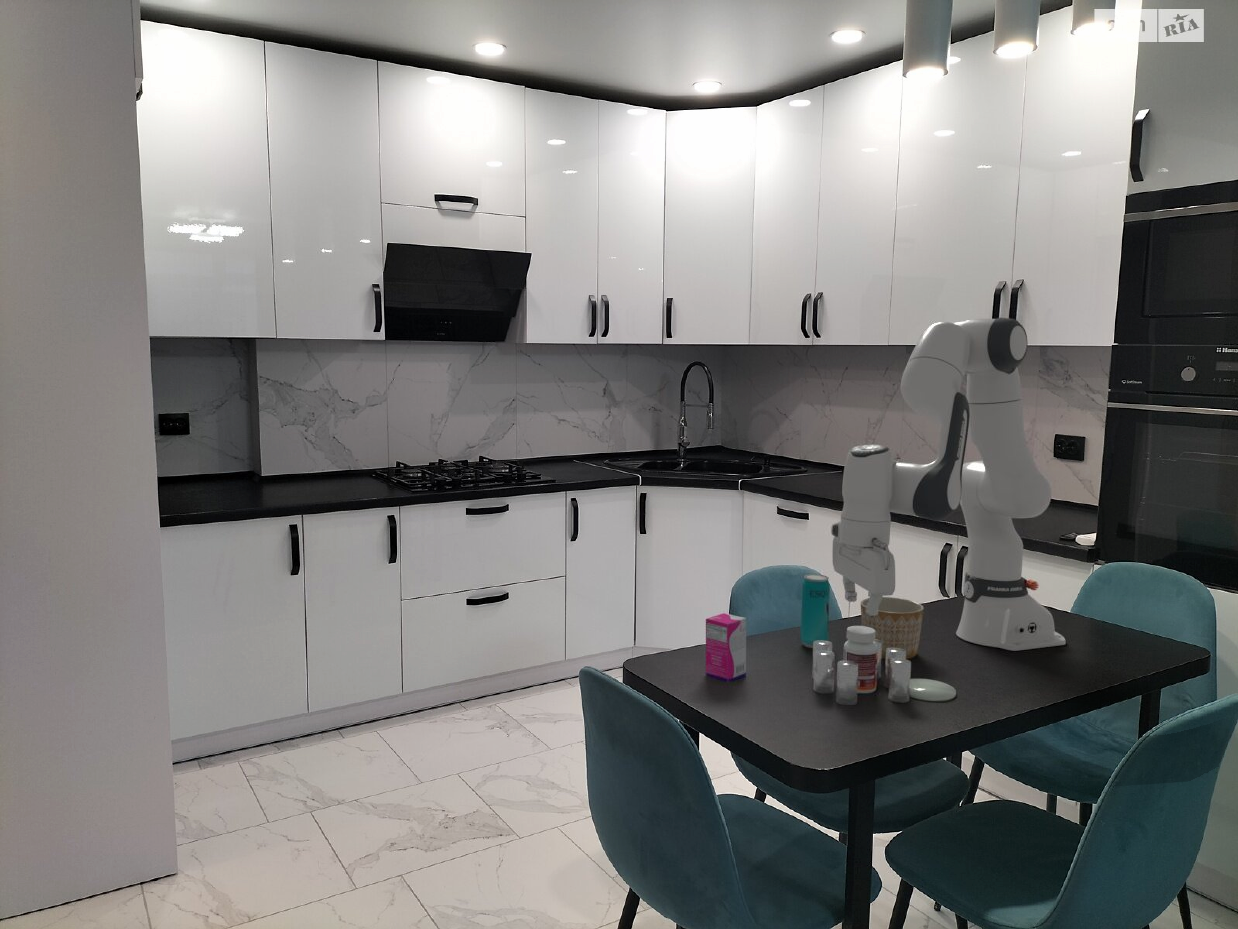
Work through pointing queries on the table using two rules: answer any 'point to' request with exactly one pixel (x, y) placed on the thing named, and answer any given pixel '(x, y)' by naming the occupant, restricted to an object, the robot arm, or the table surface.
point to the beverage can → (814, 609)
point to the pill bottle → (862, 656)
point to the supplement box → (726, 647)
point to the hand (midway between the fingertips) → (860, 607)
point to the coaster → (931, 690)
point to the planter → (895, 624)
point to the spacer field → (848, 673)
